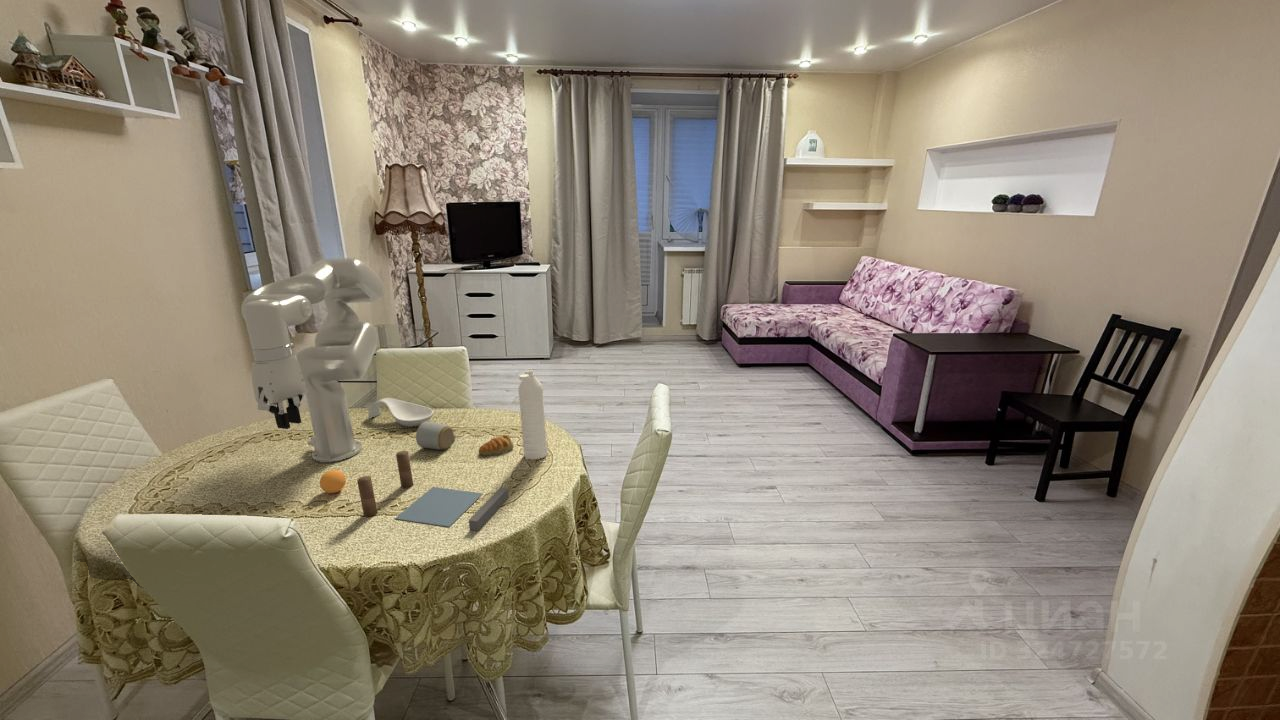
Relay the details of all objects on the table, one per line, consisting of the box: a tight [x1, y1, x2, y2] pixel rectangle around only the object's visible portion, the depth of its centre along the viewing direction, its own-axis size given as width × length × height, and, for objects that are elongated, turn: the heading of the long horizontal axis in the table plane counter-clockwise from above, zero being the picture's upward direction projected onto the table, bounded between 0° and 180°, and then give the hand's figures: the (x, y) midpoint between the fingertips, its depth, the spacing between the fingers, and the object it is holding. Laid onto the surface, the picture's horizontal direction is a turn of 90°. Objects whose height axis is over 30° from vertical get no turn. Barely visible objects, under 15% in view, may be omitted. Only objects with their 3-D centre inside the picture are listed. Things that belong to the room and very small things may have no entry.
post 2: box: [395, 450, 414, 489], centre depth 132 cm, size 3×3×9 cm
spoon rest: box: [367, 397, 434, 428], centre depth 173 cm, size 24×12×7 cm, turn 70°
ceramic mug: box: [415, 420, 457, 451], centre depth 154 cm, size 11×8×8 cm
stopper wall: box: [468, 487, 510, 532], centre depth 120 cm, size 2×14×2 cm, turn 166°
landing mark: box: [394, 486, 484, 528], centre depth 124 cm, size 14×14×1 cm
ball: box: [319, 469, 347, 494], centre depth 130 cm, size 6×6×6 cm
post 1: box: [356, 475, 378, 518], centre depth 120 cm, size 3×3×9 cm
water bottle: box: [517, 369, 548, 461], centre depth 144 cm, size 9×6×25 cm
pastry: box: [478, 434, 514, 457], centre depth 151 cm, size 9×7×4 cm
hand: (289, 424), depth 128 cm, fingers open, 2 cm apart
